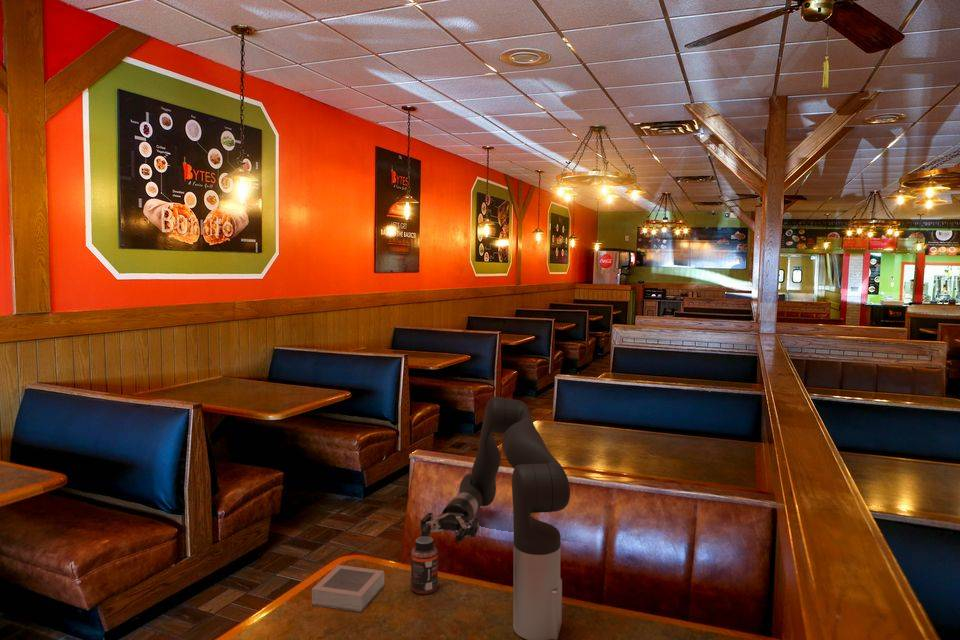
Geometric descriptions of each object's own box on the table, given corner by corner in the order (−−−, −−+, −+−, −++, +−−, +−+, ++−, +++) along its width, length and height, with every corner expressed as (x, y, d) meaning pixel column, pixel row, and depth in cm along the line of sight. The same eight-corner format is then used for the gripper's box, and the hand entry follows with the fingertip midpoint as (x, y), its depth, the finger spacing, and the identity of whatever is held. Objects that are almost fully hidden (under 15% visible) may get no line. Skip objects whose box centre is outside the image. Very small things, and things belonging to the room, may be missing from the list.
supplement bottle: (436, 595, 139) (436, 545, 138) (409, 595, 139) (409, 545, 138) (439, 582, 145) (438, 534, 144) (413, 582, 145) (412, 534, 144)
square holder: (384, 585, 143) (384, 570, 143) (361, 612, 132) (361, 596, 132) (338, 579, 146) (337, 564, 146) (312, 604, 135) (311, 589, 135)
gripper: (435, 494, 169) (412, 518, 154) (486, 500, 166) (469, 525, 150) (435, 522, 170) (413, 548, 155) (486, 527, 166) (469, 555, 151)
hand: (440, 536), depth 152 cm, fingers open, 8 cm apart
